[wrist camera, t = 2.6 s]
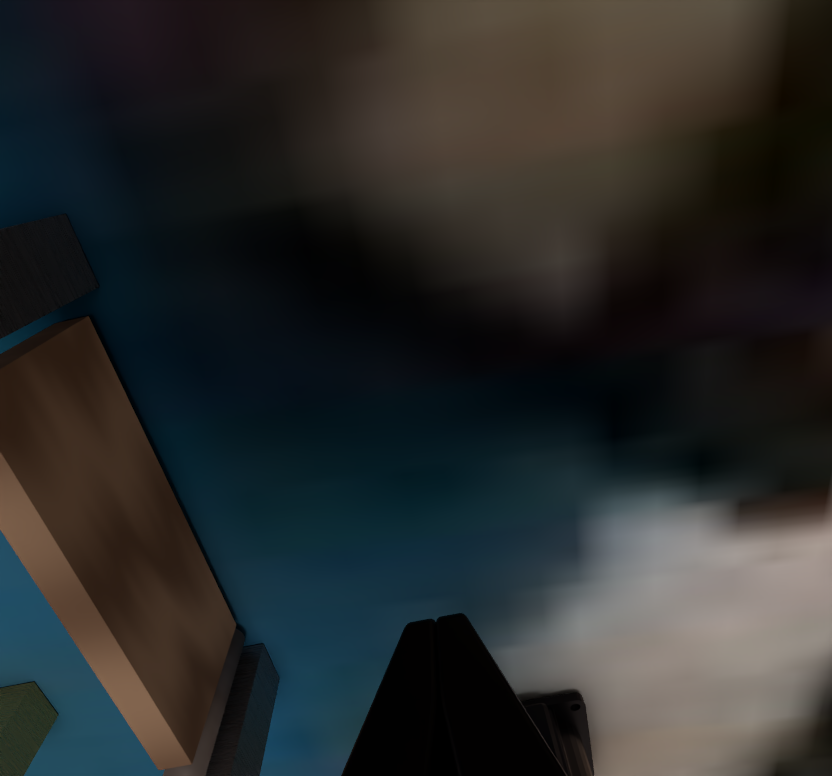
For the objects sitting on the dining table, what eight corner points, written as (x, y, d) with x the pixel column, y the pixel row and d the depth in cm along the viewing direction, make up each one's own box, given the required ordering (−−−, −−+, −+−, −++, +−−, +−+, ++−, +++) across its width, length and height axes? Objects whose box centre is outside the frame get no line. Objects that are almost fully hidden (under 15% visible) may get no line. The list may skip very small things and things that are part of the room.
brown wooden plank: (249, 646, 25) (209, 787, 20) (200, 655, 25) (147, 798, 20) (91, 315, 19) (-34, 390, 13) (26, 329, 19) (-123, 410, 13)
